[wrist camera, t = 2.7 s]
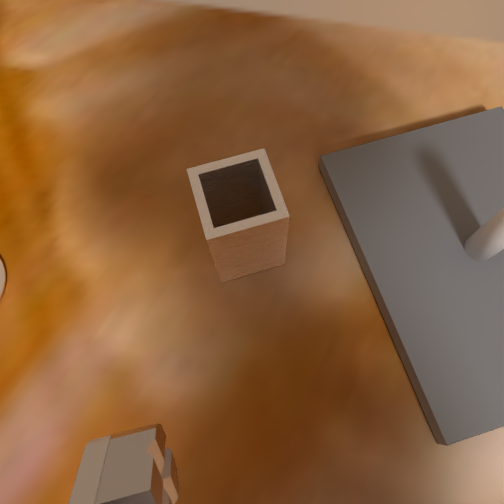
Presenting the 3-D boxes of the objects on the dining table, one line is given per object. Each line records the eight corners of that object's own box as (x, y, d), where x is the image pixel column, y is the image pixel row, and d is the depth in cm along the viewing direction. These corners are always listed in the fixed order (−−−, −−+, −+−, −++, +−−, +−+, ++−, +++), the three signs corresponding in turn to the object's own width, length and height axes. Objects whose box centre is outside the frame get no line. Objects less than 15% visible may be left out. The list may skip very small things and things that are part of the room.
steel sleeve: (284, 264, 30) (289, 216, 23) (221, 282, 30) (206, 240, 23) (264, 208, 32) (264, 148, 25) (205, 225, 32) (186, 168, 25)
